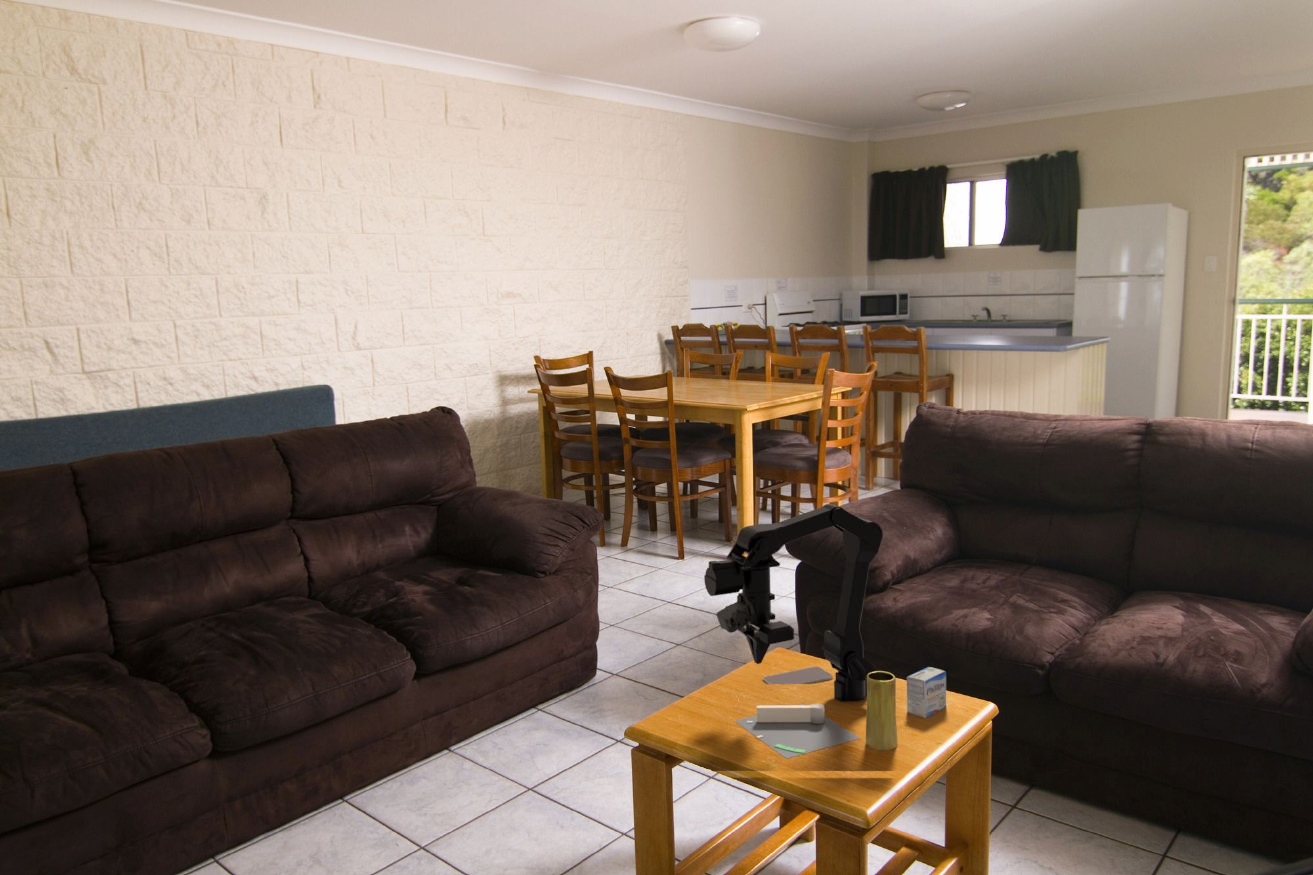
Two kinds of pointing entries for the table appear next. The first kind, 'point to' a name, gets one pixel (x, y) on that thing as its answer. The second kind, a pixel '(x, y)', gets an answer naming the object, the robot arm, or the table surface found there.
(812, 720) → the lever
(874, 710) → the vase
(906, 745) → the table surface
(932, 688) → the medicine box
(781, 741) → the dial plate
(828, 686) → the table surface
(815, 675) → the smartphone
